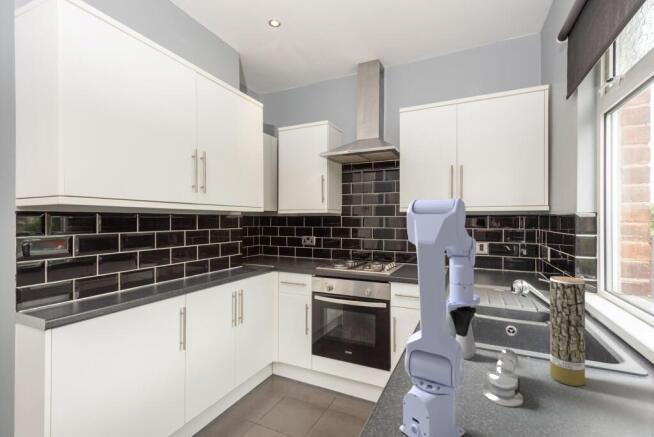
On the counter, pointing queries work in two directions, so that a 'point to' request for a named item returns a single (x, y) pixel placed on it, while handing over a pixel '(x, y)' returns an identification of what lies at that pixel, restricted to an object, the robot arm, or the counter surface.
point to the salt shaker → (467, 343)
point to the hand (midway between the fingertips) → (461, 335)
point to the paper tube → (567, 330)
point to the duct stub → (503, 395)
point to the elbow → (504, 372)
